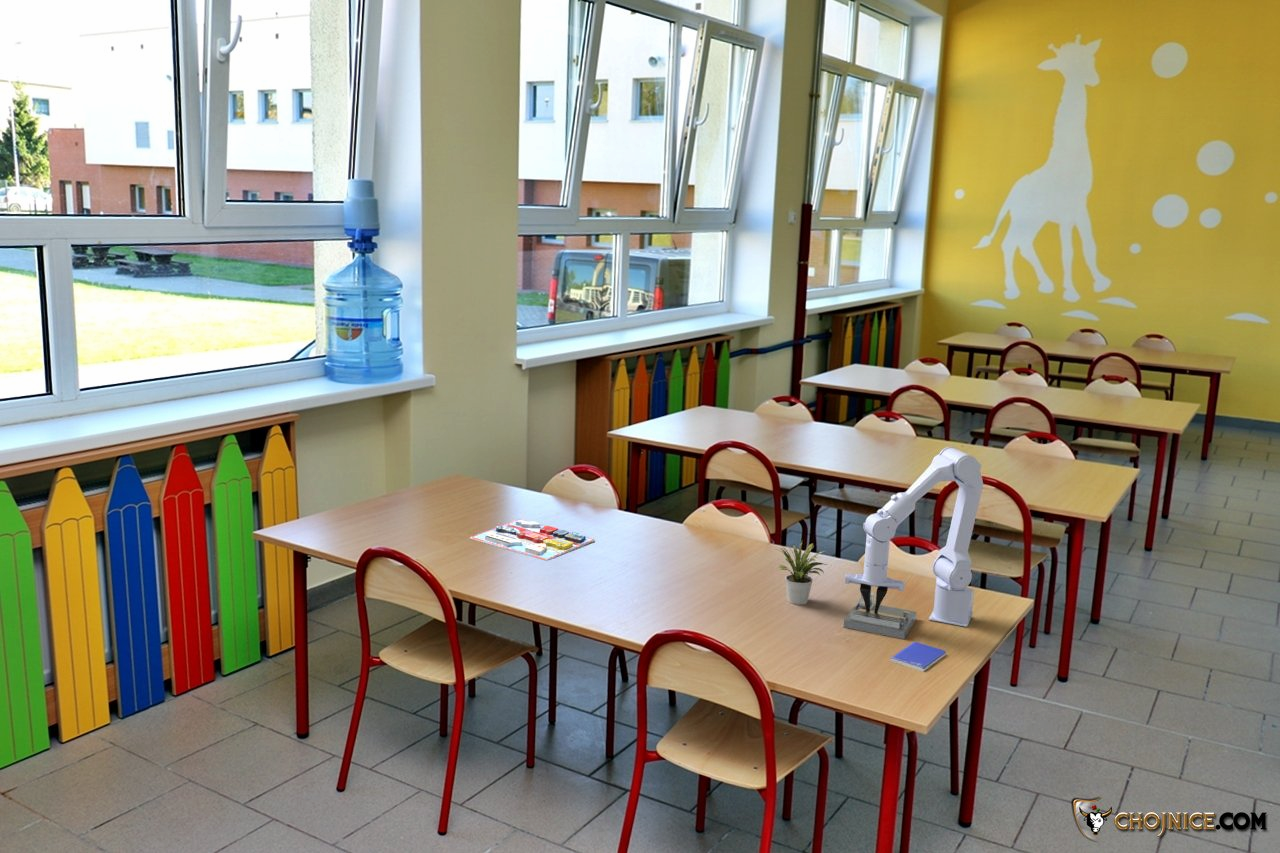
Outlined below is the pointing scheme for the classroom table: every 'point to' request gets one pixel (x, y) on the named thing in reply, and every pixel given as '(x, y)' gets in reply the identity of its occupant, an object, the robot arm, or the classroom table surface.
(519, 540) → the puzzle board
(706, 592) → the classroom table surface
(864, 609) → the tan rectangular plate
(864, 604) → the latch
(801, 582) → the house plant
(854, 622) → the grey slotted fixture base
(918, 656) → the hard drive
